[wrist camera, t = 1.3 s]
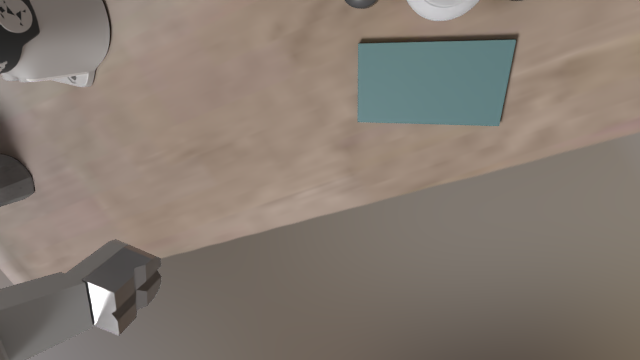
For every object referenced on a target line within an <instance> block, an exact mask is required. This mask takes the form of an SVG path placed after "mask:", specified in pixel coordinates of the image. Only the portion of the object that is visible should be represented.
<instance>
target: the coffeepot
mask: <svg viewBox="0 0 640 360" xmlns="http://www.w3.org/2000/svg"><path fill="white" fill-rule="evenodd" d="M33 193H34V182H33V179H32V177H31V175H30V173H29V172H28V170H27V169H26V168H25V167H24V166H23V165H22V164H21V163H20V162H19V161H18V160H16V159H14V158H13V157H10V156H7V155H2V154H0V207H1V206H4V205H7V204H10V203H13V202H17V201H20V200H23V199H25V198H27V197H29V196H30V195H32V194H33Z"/></svg>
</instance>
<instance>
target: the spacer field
mask: <svg viewBox="0 0 640 360" xmlns="http://www.w3.org/2000/svg"><path fill="white" fill-rule="evenodd" d="M345 1H346V3H348V4H349V5H350V6H352V7H354V8H361V9H365V8H369V7H371V6H373V5H374V4H376V3H377V2H378V0H345ZM511 1H521V0H511Z"/></svg>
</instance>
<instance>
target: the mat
mask: <svg viewBox="0 0 640 360" xmlns="http://www.w3.org/2000/svg"><path fill="white" fill-rule="evenodd" d="M515 43H516V40H515V39H508V40H469V41H430V42H392V43H359V44H358V122H376V123H411V124H446V125H480V126H499V124H500V119H501V114H502V109H503V104H504V99H505V93H506V88H507V83H508V78H509V73H510V68H511V63H512V58H513V53H514V48H515Z"/></svg>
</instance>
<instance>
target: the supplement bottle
mask: <svg viewBox="0 0 640 360" xmlns="http://www.w3.org/2000/svg"><path fill="white" fill-rule="evenodd" d="M407 2H408V4H409V5H410V7H411V8H412V9H413V10H414V11H415V12H416V13H417V14H418V15H420V16H422V17H424V18H426V19H429V20H434V21H446V20H451V19H454V18H457V17H459V16H461V15H463V14H464V13H466V12H468V11H469V10H470V9H471V8H473V7H474V6H475V5H476V4H477V3H478V2H479V0H407Z"/></svg>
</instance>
